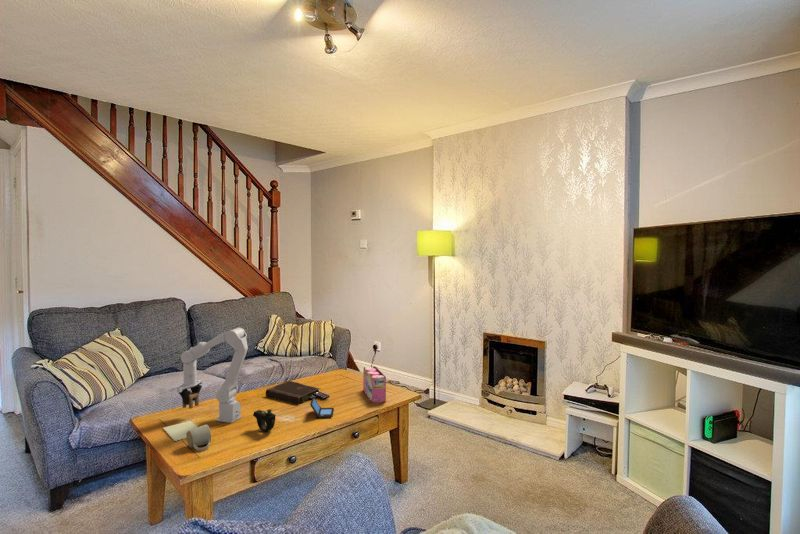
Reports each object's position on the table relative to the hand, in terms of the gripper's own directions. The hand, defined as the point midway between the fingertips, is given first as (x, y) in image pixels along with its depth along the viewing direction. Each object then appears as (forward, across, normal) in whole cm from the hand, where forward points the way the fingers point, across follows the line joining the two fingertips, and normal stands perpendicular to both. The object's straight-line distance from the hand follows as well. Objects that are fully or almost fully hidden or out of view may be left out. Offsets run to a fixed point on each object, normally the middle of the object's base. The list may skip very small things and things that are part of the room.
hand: (190, 402), depth 211 cm
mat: (+8, +14, +9) cm, 18 cm away
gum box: (+8, -58, +74) cm, 94 cm away
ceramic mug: (+8, +24, +27) cm, 37 cm away
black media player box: (+8, -43, +31) cm, 54 cm away
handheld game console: (+8, -24, +59) cm, 64 cm away
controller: (+8, +2, +43) cm, 44 cm away
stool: (+2, 0, 0) cm, 2 cm away
